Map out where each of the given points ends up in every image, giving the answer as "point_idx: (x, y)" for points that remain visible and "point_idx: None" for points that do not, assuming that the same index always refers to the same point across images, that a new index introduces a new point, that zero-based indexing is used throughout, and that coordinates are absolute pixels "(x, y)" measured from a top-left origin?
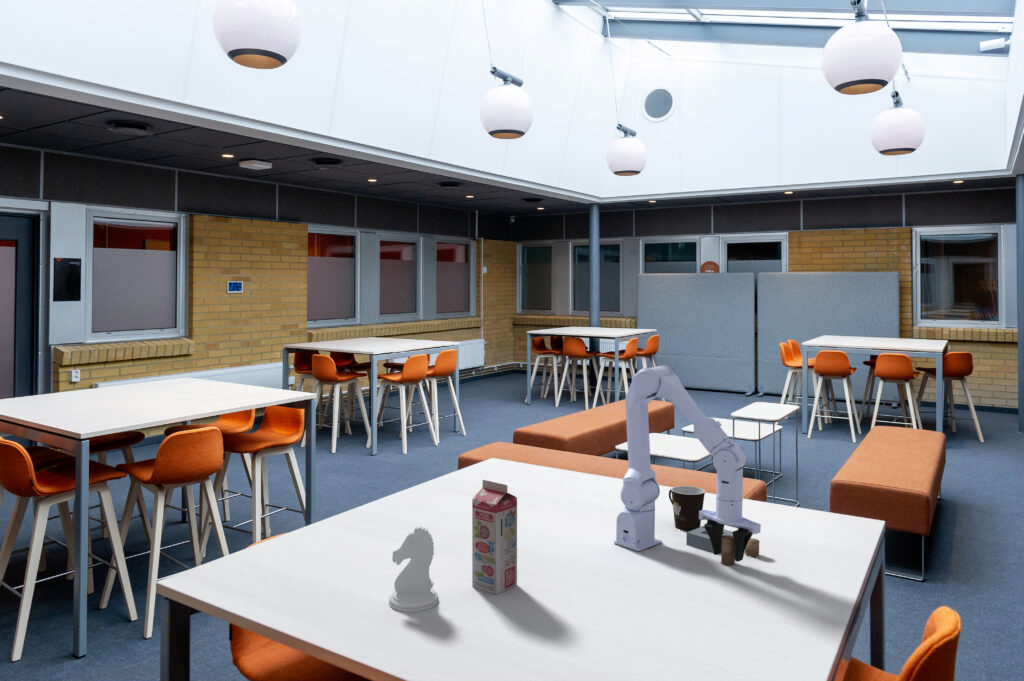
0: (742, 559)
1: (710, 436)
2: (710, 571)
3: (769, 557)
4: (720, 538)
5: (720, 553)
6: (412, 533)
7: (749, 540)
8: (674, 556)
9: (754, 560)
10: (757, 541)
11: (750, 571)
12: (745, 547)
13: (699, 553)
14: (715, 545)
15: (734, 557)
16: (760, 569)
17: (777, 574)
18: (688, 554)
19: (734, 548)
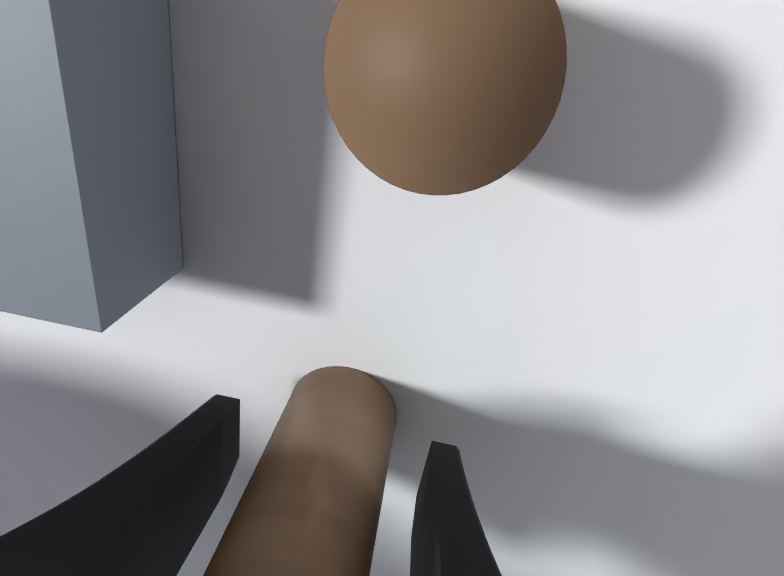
0: (458, 454)
1: None
2: None
3: (665, 12)
4: (151, 524)
5: (180, 241)
6: None
7: (395, 118)
8: (23, 462)
9: (515, 231)
10: (535, 80)
11: (545, 472)
12: (487, 558)
13: (72, 334)
14: (191, 544)
15: (387, 462)
16: (613, 407)
17: (771, 438)
18: (43, 392)
19: (373, 545)
